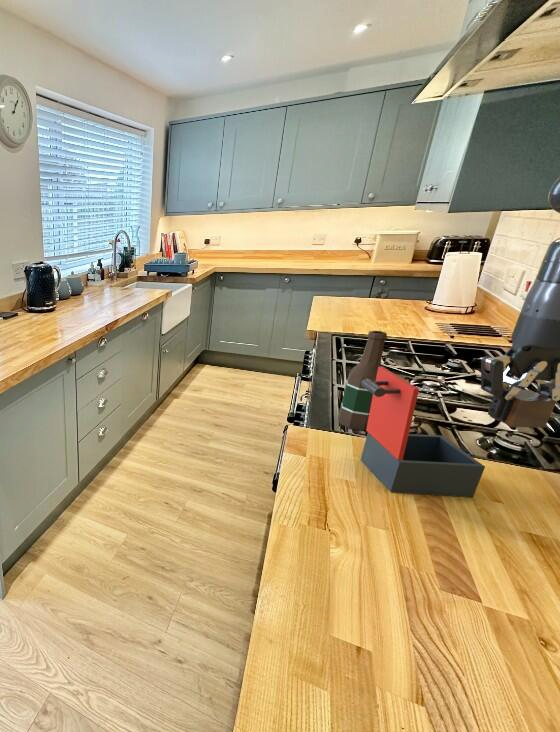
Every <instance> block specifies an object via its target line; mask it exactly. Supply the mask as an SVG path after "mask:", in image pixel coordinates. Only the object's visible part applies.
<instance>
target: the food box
mask: <svg viewBox="0 0 560 732" xmlns="http://www.w3.org/2000/svg"><path fill="white" fill-rule="evenodd" d="M360 461H361V462H362V463H363V464H364V466H365V467H366V468H367V469H368V470H369V471H370V472H371V473H372V474H373V475H374V476H375V477H376V479H377V480H379V482H381V484H382V485H383V486H384V487H385V488H386V489H387V491H389V492H390V493H398V494H399V493H400V494H413V495H414V494H416V495H428V496H429V495H430V496H431V495H432V496H444V497H445V496H446V497H461V498H462V497H463V498H473V497H474V495H475V493H476V491H477V489H478V486H479V484H480V480H481V479H482V476H483V474H484V471H485V468H486V466H485V465H484V464H482V463H481V462H480V461H478V460H477V459H476V458H475V457H473V456H471V455H470V454H468V453H467V452H466V451H464V450H463V449H461V448H460V447H459V446H457V445H456V444H455V443H453V442H452V441H451V440H449V439H447V438H446V437H445V436H443V435H442V434H441V435H440V434H415V433H409V435H408V439H407V443H406V448H405V452H404V456H403V460H397V459H396V458H395V457H394V456H393V455H392V454H391V453H390V452H389V451H388V450H387V449H386V448H384V447H383V446H382V445H381V444H380V443H379V442H378V441H377V440H376V439H375V438H374V437H373V436H372V435H370V434H369V433H368V432H367V434H366V438H365V441H364V445H363V449H362V453H361V455H360Z"/></svg>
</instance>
